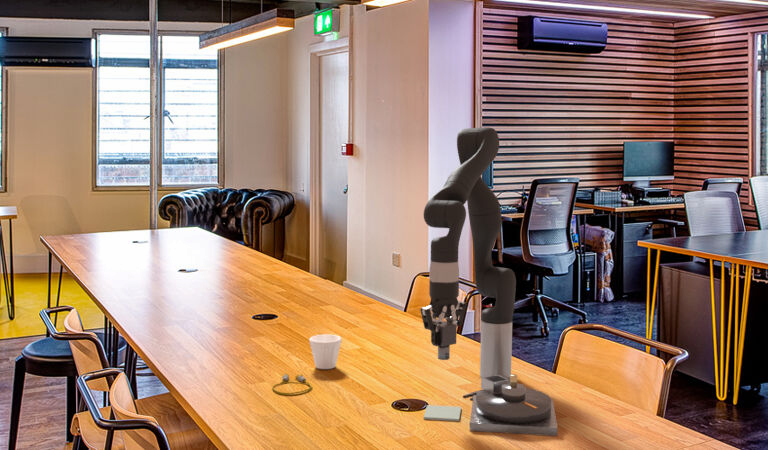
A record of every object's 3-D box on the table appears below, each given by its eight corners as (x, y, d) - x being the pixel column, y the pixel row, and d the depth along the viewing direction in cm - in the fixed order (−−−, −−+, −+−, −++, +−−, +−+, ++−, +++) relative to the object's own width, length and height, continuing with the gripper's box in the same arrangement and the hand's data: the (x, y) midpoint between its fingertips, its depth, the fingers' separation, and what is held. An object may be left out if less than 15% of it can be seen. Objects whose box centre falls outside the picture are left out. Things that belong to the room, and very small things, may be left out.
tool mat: (427, 407, 208) (427, 405, 208) (461, 409, 207) (461, 406, 207) (423, 419, 199) (423, 416, 199) (458, 421, 198) (458, 419, 198)
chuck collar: (459, 403, 204) (460, 370, 203) (517, 392, 213) (517, 360, 212) (506, 428, 187) (507, 391, 186) (566, 414, 196) (567, 379, 195)
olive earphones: (323, 382, 231) (323, 375, 231) (301, 399, 216) (301, 392, 216) (285, 378, 235) (285, 371, 234) (261, 394, 220) (261, 387, 220)
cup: (340, 372, 239) (340, 342, 238) (307, 372, 239) (307, 342, 238) (342, 362, 249) (342, 334, 248) (311, 362, 249) (311, 334, 248)
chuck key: (431, 357, 202) (431, 323, 201) (444, 354, 204) (445, 321, 203) (442, 361, 198) (443, 327, 197) (456, 358, 201) (456, 324, 200)
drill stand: (473, 402, 212) (473, 395, 212) (552, 406, 209) (552, 399, 209) (469, 430, 192) (469, 422, 191) (557, 436, 188) (557, 428, 188)
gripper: (455, 273, 206) (454, 336, 208) (413, 279, 198) (412, 345, 200) (475, 277, 200) (473, 343, 202) (431, 283, 192) (431, 351, 194)
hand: (443, 343), depth 201 cm, fingers closed on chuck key, 4 cm apart
